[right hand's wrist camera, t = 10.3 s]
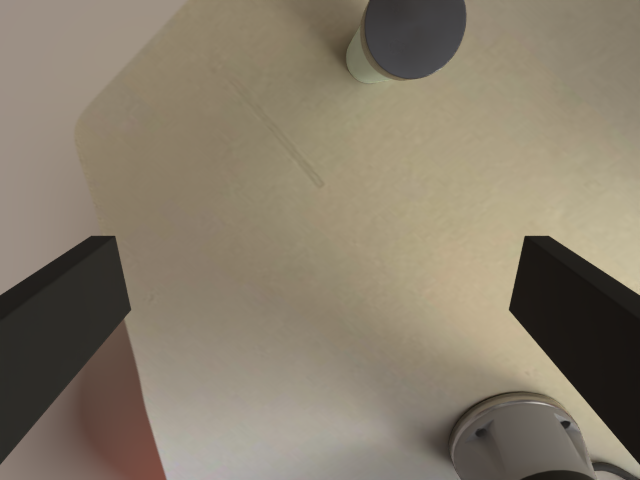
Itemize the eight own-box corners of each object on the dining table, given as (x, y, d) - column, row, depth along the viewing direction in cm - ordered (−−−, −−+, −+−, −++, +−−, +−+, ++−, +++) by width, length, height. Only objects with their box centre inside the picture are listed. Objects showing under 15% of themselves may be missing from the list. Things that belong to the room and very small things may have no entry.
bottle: (383, 90, 33) (434, 88, 18) (339, 73, 33) (354, 57, 18) (402, 40, 32) (475, -8, 17) (356, 22, 31) (388, -44, 16)
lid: (427, 93, 20) (439, 93, 18) (346, 62, 19) (349, 58, 17) (467, -2, 18) (485, -13, 16) (380, -38, 18) (388, -55, 16)
